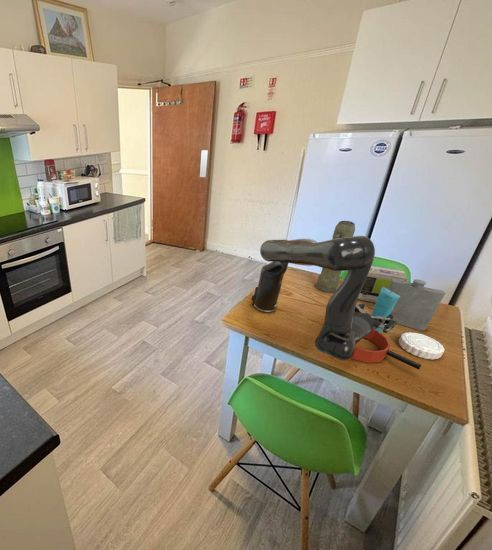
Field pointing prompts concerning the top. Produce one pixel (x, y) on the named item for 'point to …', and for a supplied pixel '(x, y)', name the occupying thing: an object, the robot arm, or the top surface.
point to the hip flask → (414, 303)
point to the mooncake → (421, 345)
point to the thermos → (328, 277)
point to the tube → (385, 304)
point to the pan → (380, 351)
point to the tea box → (379, 282)
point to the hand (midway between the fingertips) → (376, 311)
